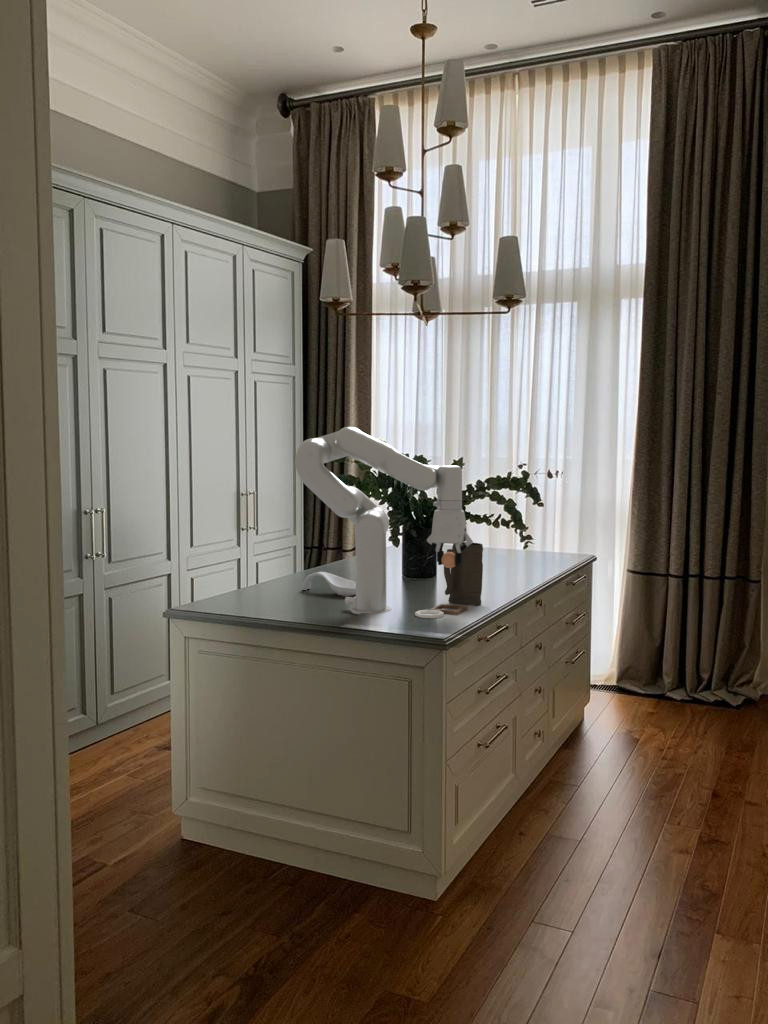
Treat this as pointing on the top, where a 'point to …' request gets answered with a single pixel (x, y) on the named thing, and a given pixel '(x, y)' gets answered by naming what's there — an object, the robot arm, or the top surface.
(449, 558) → the ball
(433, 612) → the octagonal white dish
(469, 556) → the beer stein
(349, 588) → the spoon rest
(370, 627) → the top surface
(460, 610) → the tray
